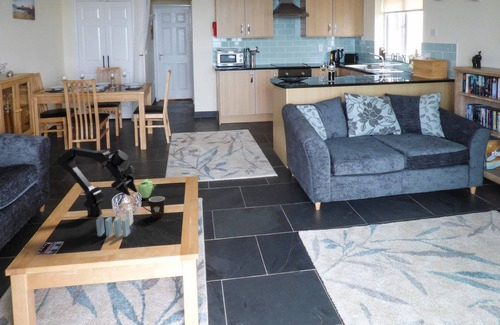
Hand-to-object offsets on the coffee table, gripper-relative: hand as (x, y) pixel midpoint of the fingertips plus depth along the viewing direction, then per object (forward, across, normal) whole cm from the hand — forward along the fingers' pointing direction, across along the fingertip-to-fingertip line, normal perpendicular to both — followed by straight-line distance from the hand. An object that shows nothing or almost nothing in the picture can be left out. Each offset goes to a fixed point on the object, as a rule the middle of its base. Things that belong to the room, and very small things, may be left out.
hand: (133, 193), depth 239 cm
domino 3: (+13, -16, +12) cm, 24 cm away
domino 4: (+15, -16, +9) cm, 24 cm away
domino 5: (+11, -2, +11) cm, 16 cm away
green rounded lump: (+3, +39, +11) cm, 41 cm away
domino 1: (+7, -16, +20) cm, 26 cm away
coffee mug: (+16, +10, +2) cm, 19 cm away
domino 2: (+10, -16, +16) cm, 25 cm away
